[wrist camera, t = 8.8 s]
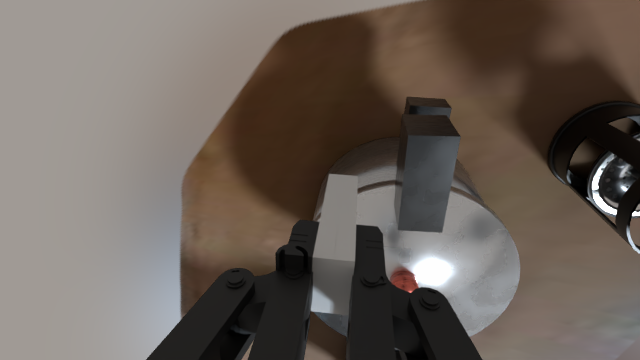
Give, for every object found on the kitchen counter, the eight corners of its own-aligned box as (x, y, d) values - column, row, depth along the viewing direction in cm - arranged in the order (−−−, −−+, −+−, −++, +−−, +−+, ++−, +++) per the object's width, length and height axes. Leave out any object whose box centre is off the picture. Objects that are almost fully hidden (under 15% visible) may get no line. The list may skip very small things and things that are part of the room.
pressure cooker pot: (448, 295, 46) (467, 366, 38) (315, 281, 48) (303, 346, 39) (512, 85, 33) (565, 119, 24) (322, 73, 34) (308, 102, 25)
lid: (487, 345, 35) (504, 393, 31) (303, 329, 37) (296, 372, 33) (565, 113, 24) (608, 140, 19) (290, 108, 26) (276, 132, 21)
